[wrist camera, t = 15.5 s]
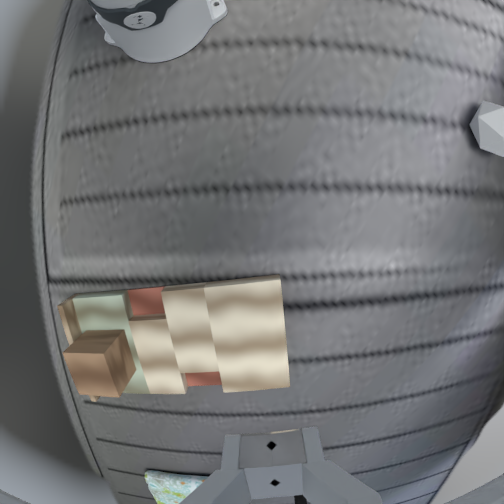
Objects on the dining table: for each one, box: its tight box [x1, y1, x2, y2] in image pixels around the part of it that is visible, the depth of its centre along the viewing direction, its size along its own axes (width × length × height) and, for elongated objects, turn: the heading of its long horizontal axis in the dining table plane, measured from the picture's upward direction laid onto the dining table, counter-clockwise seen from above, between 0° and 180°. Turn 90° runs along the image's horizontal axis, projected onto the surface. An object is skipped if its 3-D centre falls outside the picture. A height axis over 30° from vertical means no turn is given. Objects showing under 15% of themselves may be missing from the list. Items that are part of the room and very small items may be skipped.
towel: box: [145, 470, 208, 504], centre depth 52 cm, size 18×21×5 cm
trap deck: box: [57, 274, 290, 402], centre depth 43 cm, size 17×32×6 cm, turn 97°
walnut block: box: [63, 329, 136, 397], centre depth 40 cm, size 7×7×8 cm
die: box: [469, 101, 504, 157], centre depth 34 cm, size 8×9×10 cm
